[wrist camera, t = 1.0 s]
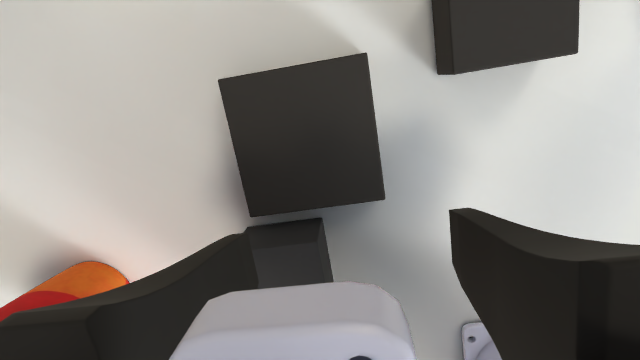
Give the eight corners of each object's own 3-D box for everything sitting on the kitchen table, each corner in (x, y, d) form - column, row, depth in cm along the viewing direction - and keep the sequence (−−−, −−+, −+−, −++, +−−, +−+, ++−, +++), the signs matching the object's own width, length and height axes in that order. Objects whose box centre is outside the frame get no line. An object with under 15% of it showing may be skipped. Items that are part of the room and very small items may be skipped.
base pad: (382, 190, 22) (385, 200, 20) (257, 207, 23) (250, 217, 21) (365, 54, 20) (367, 52, 18) (228, 79, 21) (217, 79, 19)
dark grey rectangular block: (542, 57, 19) (579, 53, 16) (437, 75, 20) (453, 74, 17) (542, -37, 18) (582, -60, 15) (430, -14, 19) (446, -32, 15)
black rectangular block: (337, 304, 24) (336, 341, 21) (267, 311, 25) (254, 347, 22) (322, 217, 23) (317, 241, 19) (247, 226, 23) (229, 252, 20)
